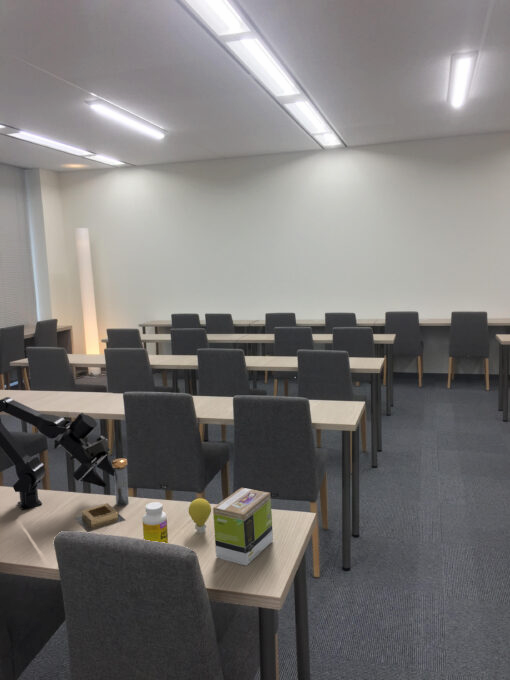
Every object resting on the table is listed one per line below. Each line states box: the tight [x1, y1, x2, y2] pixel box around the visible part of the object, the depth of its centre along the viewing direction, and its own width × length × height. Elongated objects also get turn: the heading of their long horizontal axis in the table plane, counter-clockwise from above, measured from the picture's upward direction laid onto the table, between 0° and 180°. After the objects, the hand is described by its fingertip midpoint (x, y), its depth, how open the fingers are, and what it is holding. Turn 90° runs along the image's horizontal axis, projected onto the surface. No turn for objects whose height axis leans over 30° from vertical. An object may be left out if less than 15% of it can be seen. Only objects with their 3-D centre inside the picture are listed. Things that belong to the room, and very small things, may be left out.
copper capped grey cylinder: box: [111, 457, 129, 507], centre depth 181 cm, size 5×5×16 cm
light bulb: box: [188, 498, 212, 534], centre depth 163 cm, size 7×7×10 cm
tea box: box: [212, 487, 274, 566], centre depth 151 cm, size 15×10×15 cm
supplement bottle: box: [142, 501, 169, 544], centre depth 153 cm, size 7×7×13 cm
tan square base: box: [74, 503, 126, 533], centre depth 172 cm, size 12×12×3 cm
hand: (110, 480), depth 182 cm, fingers open, 9 cm apart
